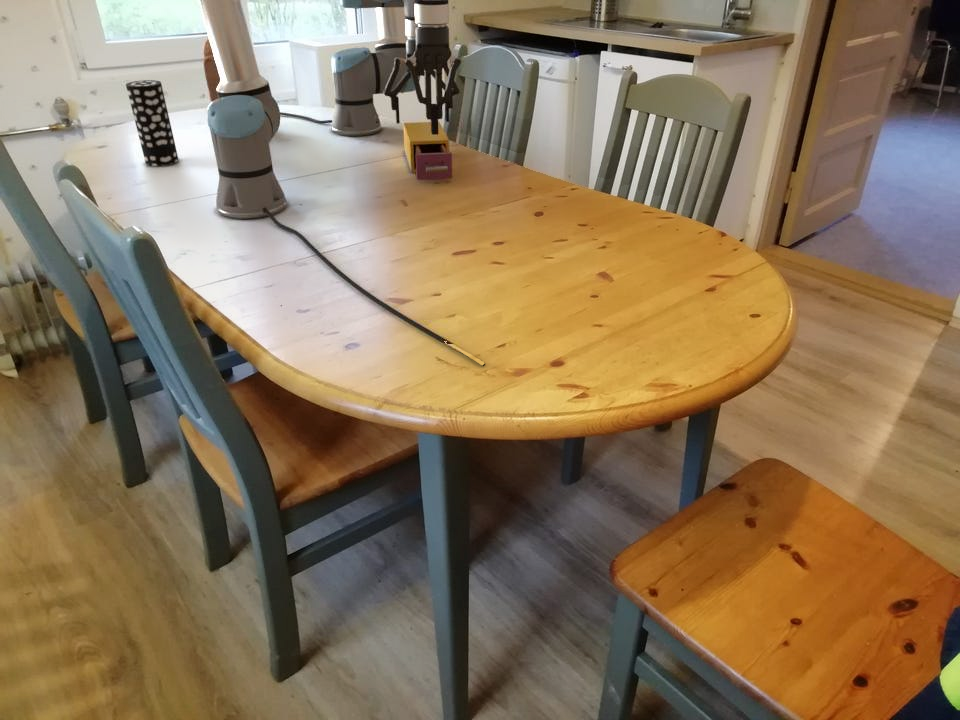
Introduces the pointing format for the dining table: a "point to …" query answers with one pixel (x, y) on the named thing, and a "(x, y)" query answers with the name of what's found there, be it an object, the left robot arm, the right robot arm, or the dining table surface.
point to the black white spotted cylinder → (152, 122)
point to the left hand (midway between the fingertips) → (434, 132)
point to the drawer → (432, 161)
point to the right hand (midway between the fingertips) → (422, 121)
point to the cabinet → (421, 139)
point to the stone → (211, 71)
